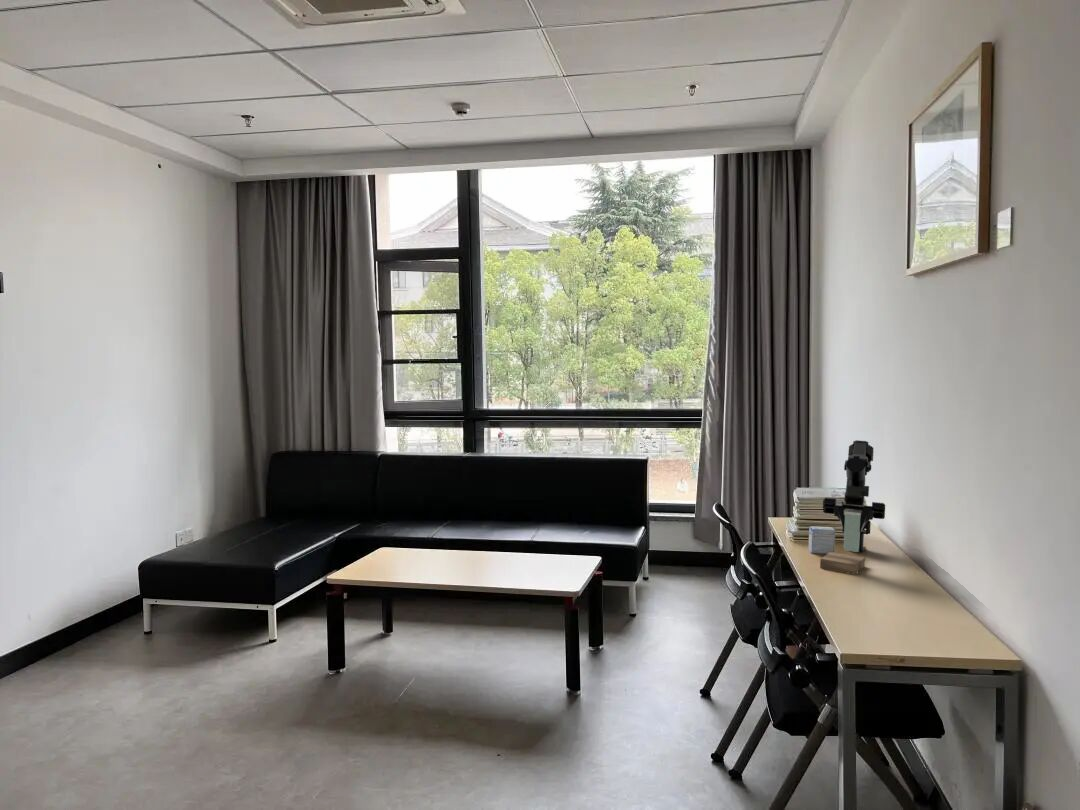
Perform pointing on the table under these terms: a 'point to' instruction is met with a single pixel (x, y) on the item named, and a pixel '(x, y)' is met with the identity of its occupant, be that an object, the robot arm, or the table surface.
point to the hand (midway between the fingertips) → (851, 530)
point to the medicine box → (821, 540)
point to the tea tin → (852, 530)
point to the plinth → (842, 562)
